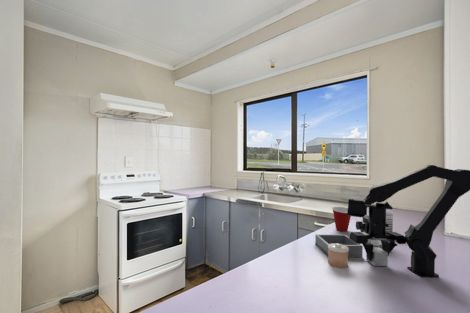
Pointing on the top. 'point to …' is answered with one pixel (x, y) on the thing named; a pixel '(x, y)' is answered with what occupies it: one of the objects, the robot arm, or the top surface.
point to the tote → (327, 239)
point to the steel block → (378, 257)
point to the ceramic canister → (338, 255)
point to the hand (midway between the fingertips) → (376, 260)
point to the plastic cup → (341, 218)
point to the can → (389, 221)
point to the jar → (374, 242)
